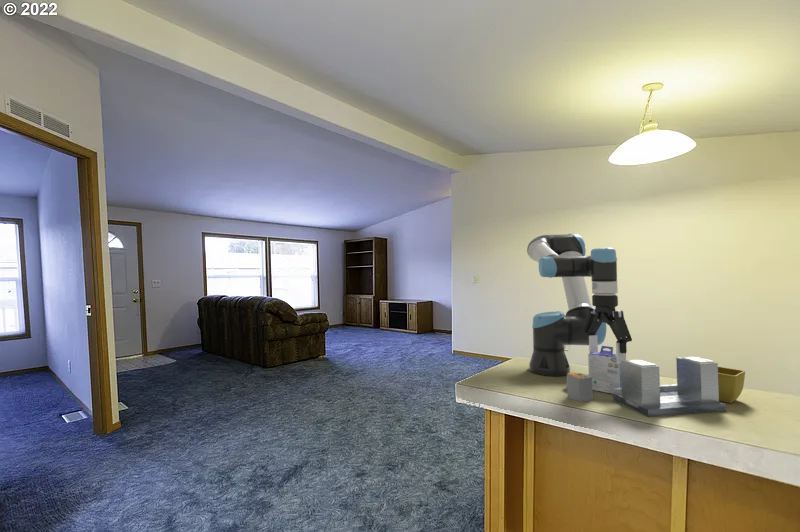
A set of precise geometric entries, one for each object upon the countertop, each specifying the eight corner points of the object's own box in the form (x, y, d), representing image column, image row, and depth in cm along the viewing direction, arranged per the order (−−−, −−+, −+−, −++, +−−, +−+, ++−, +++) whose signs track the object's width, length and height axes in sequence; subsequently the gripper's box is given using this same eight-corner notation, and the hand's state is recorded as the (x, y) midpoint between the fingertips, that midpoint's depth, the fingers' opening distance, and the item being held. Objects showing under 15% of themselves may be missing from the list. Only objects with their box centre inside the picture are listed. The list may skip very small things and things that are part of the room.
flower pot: (736, 407, 108) (735, 375, 108) (699, 398, 115) (698, 369, 115) (746, 400, 112) (745, 370, 113) (710, 393, 120) (709, 365, 120)
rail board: (612, 399, 116) (611, 356, 116) (682, 394, 119) (680, 352, 119) (648, 417, 102) (646, 367, 102) (726, 411, 105) (724, 363, 105)
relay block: (567, 396, 119) (567, 373, 119) (580, 395, 120) (579, 371, 121) (579, 402, 114) (578, 377, 114) (592, 400, 116) (591, 375, 116)
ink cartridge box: (626, 392, 122) (625, 347, 123) (621, 396, 118) (620, 350, 119) (594, 385, 129) (593, 344, 130) (588, 389, 126) (587, 346, 126)
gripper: (572, 293, 136) (574, 351, 136) (621, 296, 111) (623, 368, 111) (591, 292, 137) (593, 350, 137) (643, 296, 112) (646, 366, 112)
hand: (606, 358), depth 124 cm, fingers open, 13 cm apart
